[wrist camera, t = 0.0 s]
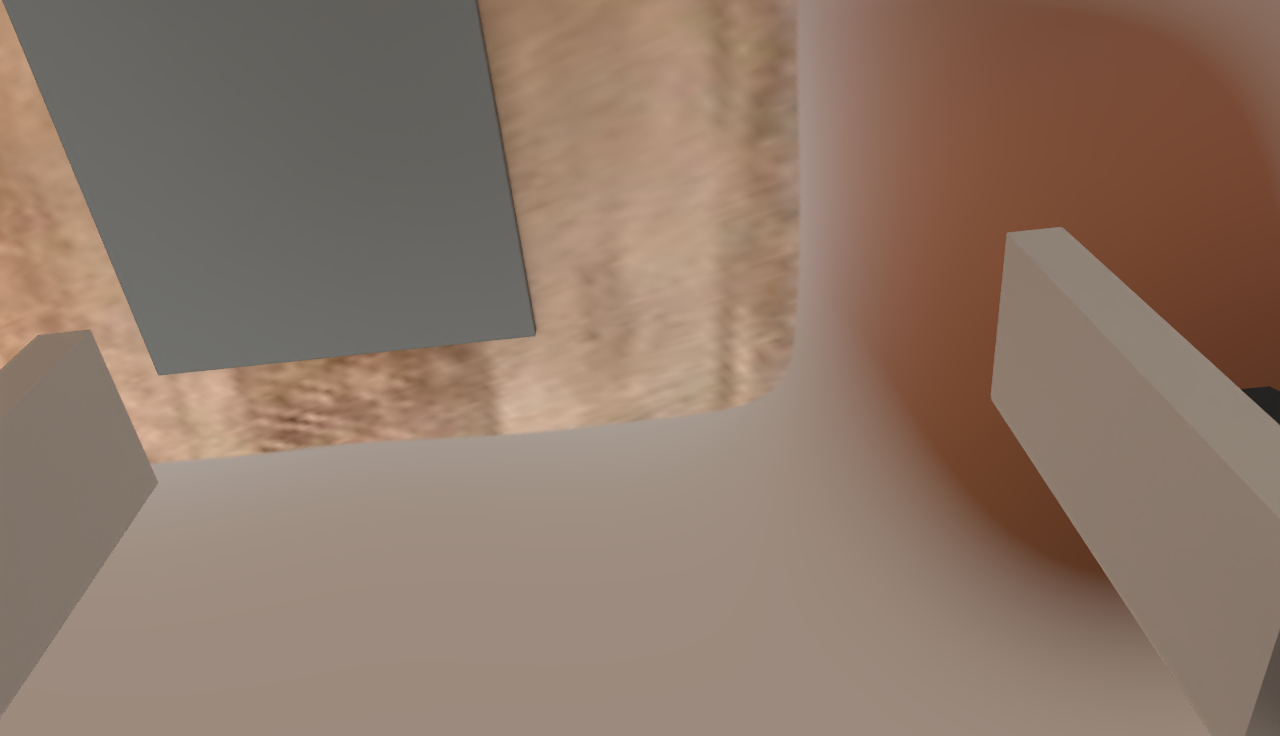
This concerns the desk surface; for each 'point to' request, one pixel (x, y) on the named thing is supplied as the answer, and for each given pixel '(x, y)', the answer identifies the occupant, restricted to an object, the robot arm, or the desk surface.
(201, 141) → the mat
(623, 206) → the desk surface
